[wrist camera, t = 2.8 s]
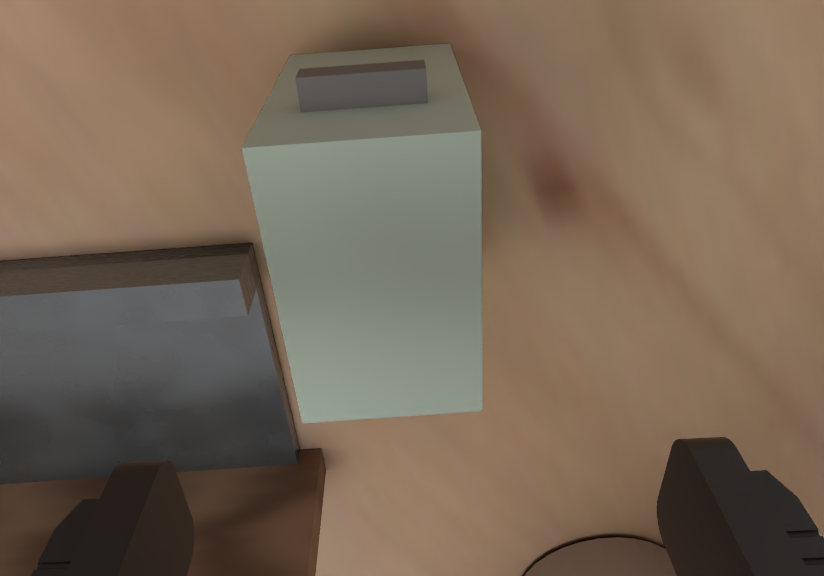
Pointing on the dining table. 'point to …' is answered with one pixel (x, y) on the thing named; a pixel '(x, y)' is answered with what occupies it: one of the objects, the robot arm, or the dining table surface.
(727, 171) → the dining table surface
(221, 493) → the wall board
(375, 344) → the cabinet
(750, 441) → the dining table surface
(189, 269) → the dark grey flat slab
